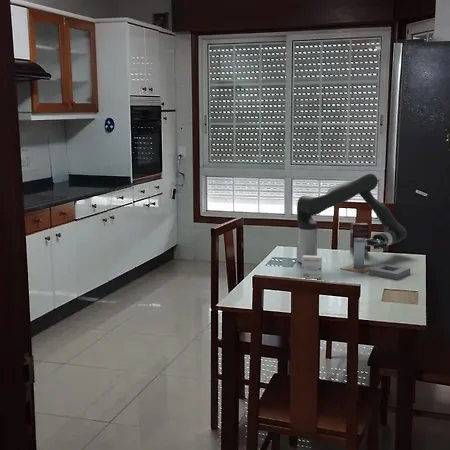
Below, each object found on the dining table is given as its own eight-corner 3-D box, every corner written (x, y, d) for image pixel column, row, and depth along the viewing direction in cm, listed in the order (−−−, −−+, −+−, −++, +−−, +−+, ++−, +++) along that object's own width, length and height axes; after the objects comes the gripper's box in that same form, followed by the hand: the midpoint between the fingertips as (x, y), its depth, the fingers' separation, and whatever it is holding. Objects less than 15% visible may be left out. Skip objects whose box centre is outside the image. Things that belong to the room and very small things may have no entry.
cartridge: (351, 267, 301) (352, 239, 299) (356, 265, 305) (357, 237, 302) (360, 269, 298) (361, 240, 295) (365, 267, 302) (366, 238, 299)
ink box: (321, 281, 279) (322, 255, 277) (321, 284, 275) (321, 257, 272) (302, 280, 281) (302, 254, 279) (301, 283, 276) (301, 257, 274)
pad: (340, 269, 300) (340, 268, 300) (354, 263, 310) (354, 262, 310) (362, 273, 292) (362, 272, 292) (376, 267, 303) (376, 266, 303)
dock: (368, 274, 290) (368, 269, 290) (382, 268, 301) (382, 263, 300) (396, 279, 281) (396, 274, 281) (410, 273, 292) (410, 268, 291)
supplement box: (364, 251, 336) (365, 222, 333) (368, 253, 331) (369, 224, 328) (349, 252, 335) (350, 223, 332) (352, 254, 330) (353, 224, 327)
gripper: (369, 231, 320) (353, 236, 308) (395, 234, 311) (380, 240, 299) (368, 245, 322) (353, 251, 310) (394, 249, 313) (379, 255, 301)
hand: (366, 245), depth 304 cm, fingers open, 8 cm apart
